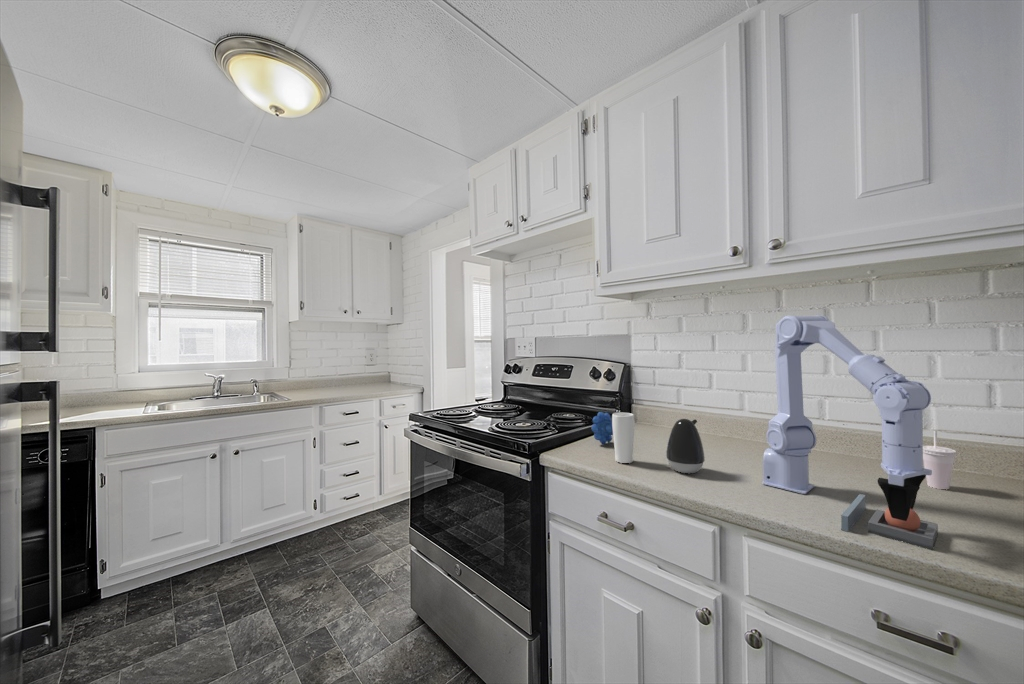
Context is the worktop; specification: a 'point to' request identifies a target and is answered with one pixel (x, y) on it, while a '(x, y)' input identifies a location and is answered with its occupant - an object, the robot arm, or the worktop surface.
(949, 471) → the smoothie
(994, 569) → the worktop surface
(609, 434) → the grapes
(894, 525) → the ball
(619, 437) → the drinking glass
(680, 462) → the black egg-shaped device
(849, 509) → the low wall
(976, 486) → the worktop surface
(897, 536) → the tray
